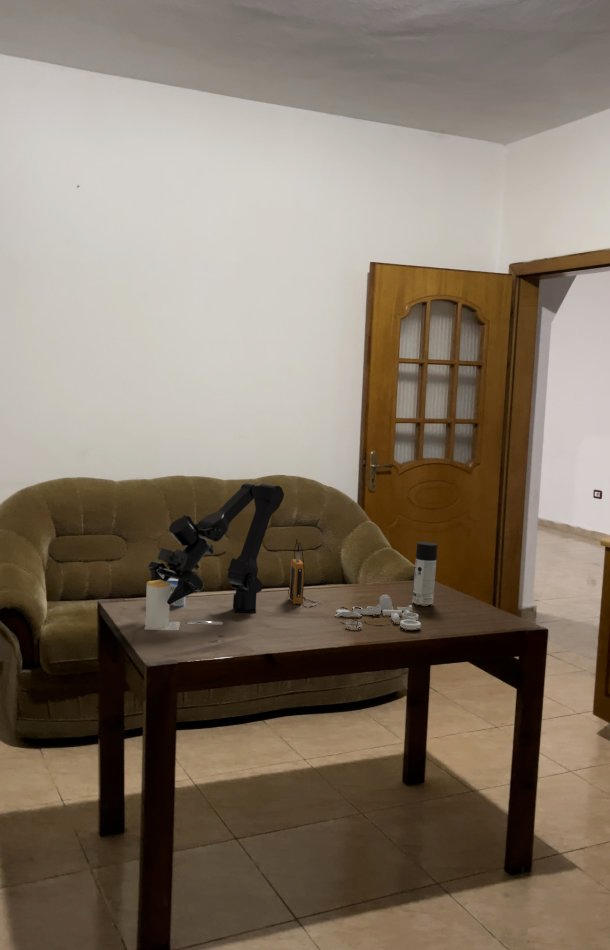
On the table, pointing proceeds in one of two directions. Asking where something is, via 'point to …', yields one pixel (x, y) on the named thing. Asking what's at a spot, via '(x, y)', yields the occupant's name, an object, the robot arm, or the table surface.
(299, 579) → the multimeter
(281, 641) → the table surface
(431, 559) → the spray can
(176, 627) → the case base
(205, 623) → the rod
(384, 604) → the robot parts
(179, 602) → the medicine box
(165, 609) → the block
